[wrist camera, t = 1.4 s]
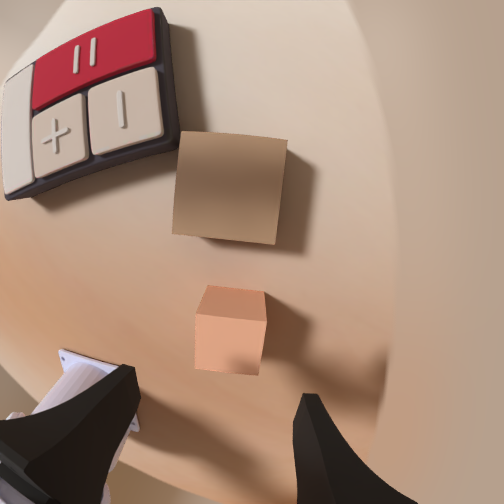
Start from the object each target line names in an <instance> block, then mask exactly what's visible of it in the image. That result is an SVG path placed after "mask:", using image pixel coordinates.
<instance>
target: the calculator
mask: <svg viewBox="0 0 504 504" xmlns="http://www.w3.org/2000/svg"><path fill="white" fill-rule="evenodd" d="M180 137H181V135H180V127H179V120H178V112H177V104H176V96H175V87H174V78H173V68H172V58H171V46H170V34H169V24H168V22H167V20H166V18H165V16H164V13H163V11H162V9H161V8H160V7H154V8H151V9H146V10H143V11H140V12H137V13H134V14H131V15H128V16H125V17H122V18H120V19H117V20H114V21H112V22H109V23H107V24H104V25H102V26H100V27H97V28H95V29H93V30H91V31H88V32H86V33H84V34H82V35H80V36H78V37H76V38H74V39H72V40H70V41H68V42H66V43H64V44H62V45H61V46H59V47H57V48H55V49H54V50H52V51H50V52H48V53H47V54H45V55H43V56H42V57H40V58H39V59H37V60H36V61H34V62H33V63H31V64H30V65H28V66H27V67H25V68H24V69H22V70H21V71H20V72H18V73H17V74H15V75H14V76H13V77H11V78H10V79H9V80H7V81H6V83H5V85H4V93H3V104H2V121H1V156H2V173H3V185H4V194H5V198H6V200H7V201H10V200H16V199H23V198H29V197H33V196H36V195H38V194H40V193H43V192H45V191H47V190H50V189H52V188H55V187H57V186H59V185H61V184H63V183H66V182H68V181H71V180H74V179H77V178H80V177H82V176H85V175H88V174H91V173H94V172H97V171H100V170H103V169H107V168H110V167H113V166H116V165H120V164H123V163H126V162H130V161H133V160H137V159H140V158H144V157H148V156H151V155H155V154H159V153H163V152H167V151H171V150H175V149H178V148H179V145H180Z"/></svg>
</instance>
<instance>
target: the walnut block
mask: <svg viewBox="0 0 504 504" xmlns="http://www.w3.org/2000/svg"><path fill="white" fill-rule="evenodd" d="M287 141H288V140H283V139H276V138H268V137H259V136H250V135H240V134H228V133H214V132H195V131H181V137H180V145H179V154H178V163H177V173H176V184H175V195H174V209H173V225H172V234H178V235H188V236H198V237H207V238H217V239H226V240H236V241H245V242H254V243H263V244H272V245H275V240H276V233H277V225H278V217H279V209H280V201H281V193H282V185H283V176H284V168H285V159H286V150H287Z"/></svg>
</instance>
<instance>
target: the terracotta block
mask: <svg viewBox="0 0 504 504" xmlns="http://www.w3.org/2000/svg"><path fill="white" fill-rule="evenodd" d="M266 325H267V317H266V306H265V296H264V291H254V290H245V289H236V288H227V287H218V286H210V285H208V286H207V288H206V290H205V293H204V295H203V297H202V300H201V302H200V305H199V307H198V309H197V312H196V323H195V368H196V369H203V370H210V371H218V372H226V373H236V374H246V375H258V374H259V368H260V362H261V356H262V350H263V344H264V337H265V331H266Z"/></svg>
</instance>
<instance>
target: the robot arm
mask: <svg viewBox="0 0 504 504" xmlns="http://www.w3.org/2000/svg"><path fill="white" fill-rule="evenodd" d="M58 353H59V357H60V360H61V363H62V367H63V370H64V374H63V375H62V376H61V378H60V379H59V380H58V381H57V382H56V384H55V385H54V386H53V387H52V388H51V390H50V391H49V392H48V393H47V395H46V396H45V397H44V398H43V400H42V401H41V402H40V403H39V405H38V406H37V407H36V408H35V410H34V411H33V412H32V414H31V415H29V416H25V415H24V414H23V413H22V412H20V413H18V412H13V413H11V414H10V415H9V416H8V417H7V419H6V420H0V504H110V493H109V488H108V485H107V484H106V478H107V475H108V473H109V472H111V471H112V470H113V468H114V467H115V466H116V463H117V461H118V458H119V456H120V454H121V451H122V449H123V447H124V444H125V442H126V439H127V437H128V435H129V432H130V430H132V431H135V432H138V431H139V430H140V427H139V423H138V419H137V415H136V411H137V408H138V405H139V402H140V399H141V396H140V391H139V386H138V381H137V376H136V371H135V367H132V366H128V365H125V364H122V365H120V366H116V365H112V364H108V363H105V362H101V361H98V360H95V359H91V358H88V357H85V356H82V355H78V354H75V353H72V352H70V351H67V350H64V349H60V350H59V352H58ZM293 449H294V459H295V468H296V477H297V504H418V503H417V502H415V501H414V500H411V499H410V498H408V497H406V496H404V495H403V494H401V493H400V492H398V491H397V490H395V489H394V488H392V487H391V486H389V485H388V484H387V483H386V482H384V481H383V480H382V479H381V478H379V477H378V476H377V475H376V474H375V473H374V472H373V471H372V470H370V468H369V467H368V466H367V465H366V464H365V463H364V462H363V461H362V460H361V459H360V458H359V457H358V456H357V454H356V453H355V452H354V451H353V450H352V448H351V447H350V446H349V444H348V443H347V442H346V440H345V439H344V438H343V436H342V435H341V433H340V432H339V430H338V429H337V427H336V426H335V424H334V422H333V421H332V419H331V417H330V416H329V414H328V412H327V410H326V409H325V407H324V405H323V403H322V401H321V399H320V397H319V395H318V394H308V393H303V395H302V398H301V401H300V404H299V406H298V409H297V412H296V415H295V418H294V421H293Z"/></svg>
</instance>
